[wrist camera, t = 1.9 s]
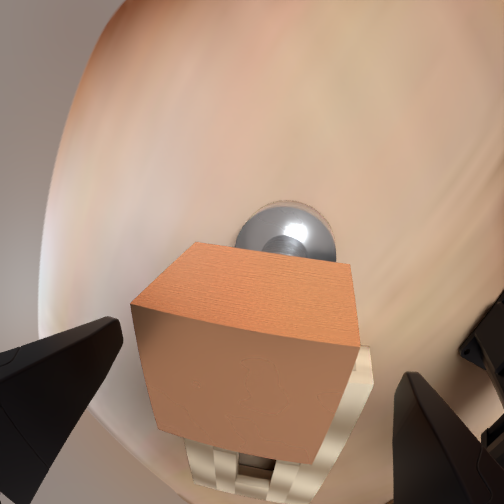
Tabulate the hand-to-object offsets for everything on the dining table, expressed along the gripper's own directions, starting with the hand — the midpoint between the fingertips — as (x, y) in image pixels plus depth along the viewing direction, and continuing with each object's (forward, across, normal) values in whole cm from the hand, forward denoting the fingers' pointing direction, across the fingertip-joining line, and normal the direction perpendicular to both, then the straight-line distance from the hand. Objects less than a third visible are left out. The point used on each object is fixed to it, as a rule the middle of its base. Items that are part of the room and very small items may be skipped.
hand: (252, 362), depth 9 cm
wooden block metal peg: (+9, 0, 0) cm, 9 cm away
